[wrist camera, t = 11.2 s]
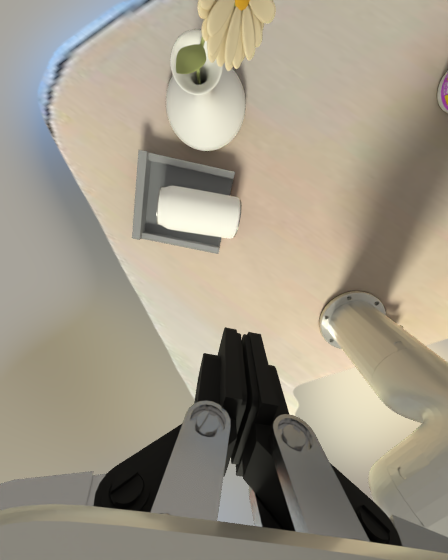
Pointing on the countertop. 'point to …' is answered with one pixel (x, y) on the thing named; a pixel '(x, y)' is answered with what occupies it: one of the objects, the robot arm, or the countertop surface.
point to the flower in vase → (214, 71)
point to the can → (198, 211)
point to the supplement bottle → (443, 93)
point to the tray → (174, 173)
